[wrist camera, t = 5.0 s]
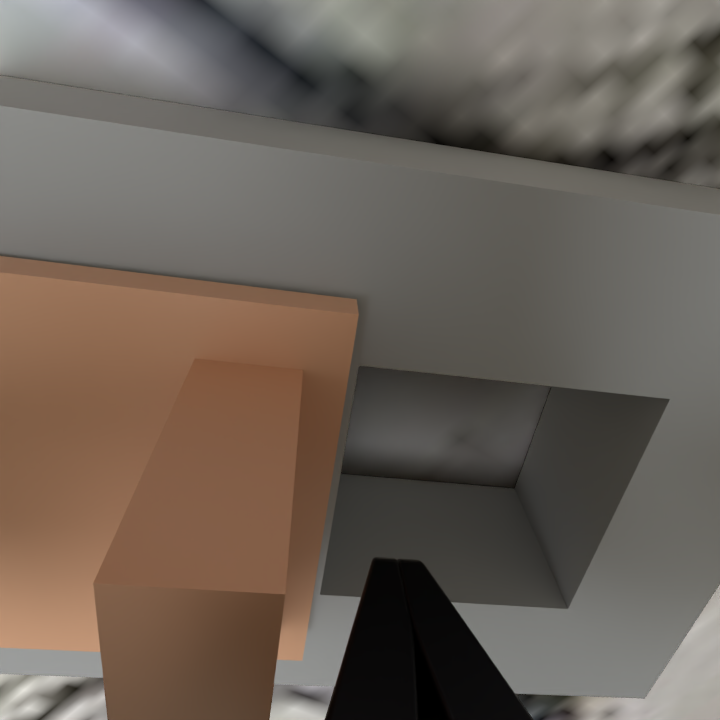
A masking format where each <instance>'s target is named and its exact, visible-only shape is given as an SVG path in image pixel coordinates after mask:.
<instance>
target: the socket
mask: <svg viewBox="0 0 720 720" xmlns="http://www.w3.org/2000/svg"><path fill="white" fill-rule="evenodd" d="M0 256H6V257H14V258H22V259H30V260H38V261H47V262H55V263H63V264H71V265H80V266H88V267H96V268H104V269H112V270H121V271H129V272H137V273H145V274H153V275H162V276H170V277H178V278H186V279H194V280H203V281H211V282H219V283H227V284H235V285H244V286H252V287H260V288H268V289H276V290H285V291H293V292H301V293H309V294H317V295H326V296H334V297H342V298H350V299H357V305H358V313H359V316H358V322H357V329H356V335H355V341H354V347H353V353H352V359H351V365H350V372H349V378H348V384H347V390H346V396H345V402H344V408H343V415H342V421H341V427H340V433H339V439H338V445H337V451H336V458H335V464H334V470H333V476H332V482H331V488H330V494H329V501H328V507H327V513H326V519H325V525H324V531H323V537H322V543H321V550H320V556H319V562H318V568H317V574H316V580H315V586H314V593H313V599H312V605H311V611H310V617H309V623H308V629H307V636H306V642H305V648H304V654H303V660H302V661H294V660H277V664H276V671H275V679H274V684H280V685H306V686H332V687H335V684H336V680H337V677H338V673H339V670H340V667H341V663H342V660H343V656H344V653H345V650H346V646H347V643H348V639H349V636H350V633H351V629H352V626H353V622H354V619H355V616H356V612H357V609H358V605H359V602H360V599H361V595H362V592H363V588H364V585H365V582H366V578H367V575H368V571H369V568H370V565H371V561H372V559H373V558H374V557H387V558H395V559H400V558H402V559H416V560H420V561H422V562H423V563H424V564H425V566H426V567H427V569H428V570H429V571H430V573H431V574H432V576H433V577H434V578H435V580H436V581H437V583H438V584H439V586H440V587H441V588H442V590H443V591H444V593H445V594H446V596H447V597H448V598H449V600H450V601H451V603H452V604H453V606H454V607H455V608H456V610H457V611H458V613H459V614H460V616H461V617H462V618H463V620H464V621H465V623H466V624H467V626H468V627H469V628H470V630H471V631H472V633H473V634H474V636H475V637H476V638H477V640H478V641H479V643H480V644H481V646H482V647H483V648H484V650H485V651H486V653H487V654H488V656H489V657H490V658H491V660H492V661H493V663H494V664H495V666H496V667H497V668H498V670H499V671H500V673H501V674H502V676H503V677H504V678H505V680H506V681H507V683H508V684H509V686H510V687H511V688H512V690H513V691H514V693H515V694H541V695H567V696H594V697H620V698H645V697H646V696H647V694H648V693H649V691H650V690H651V688H652V687H653V685H654V684H655V682H656V681H657V679H658V677H659V676H660V674H661V673H662V671H663V670H664V668H665V667H666V665H667V664H668V662H669V661H670V659H671V658H672V656H673V655H674V653H675V652H676V650H677V649H678V647H679V645H680V644H681V642H682V641H683V639H684V638H685V636H686V635H687V633H688V632H689V630H690V629H691V627H692V626H693V624H694V623H695V621H696V620H697V618H698V617H699V615H700V613H701V612H702V610H703V609H704V607H705V606H706V604H707V603H708V601H709V600H710V598H711V597H712V595H713V594H714V592H715V591H716V589H717V588H718V586H719V585H720V189H717V188H711V187H705V186H698V185H692V184H686V183H680V182H673V181H667V180H661V179H654V178H648V177H642V176H635V175H629V174H623V173H616V172H610V171H604V170H597V169H591V168H585V167H578V166H572V165H566V164H559V163H553V162H547V161H540V160H534V159H528V158H521V157H515V156H509V155H502V154H496V153H490V152H483V151H477V150H471V149H464V148H458V147H452V146H445V145H439V144H433V143H426V142H420V141H414V140H407V139H401V138H395V137H388V136H382V135H376V134H369V133H363V132H357V131H350V130H344V129H338V128H332V127H325V126H319V125H313V124H306V123H300V122H294V121H287V120H281V119H275V118H268V117H262V116H256V115H249V114H243V113H237V112H230V111H224V110H218V109H211V108H205V107H199V106H192V105H186V104H180V103H173V102H167V101H161V100H154V99H148V98H142V97H135V96H129V95H123V94H116V93H110V92H104V91H97V90H91V89H85V88H78V87H72V86H66V85H59V84H53V83H47V82H40V81H34V80H28V79H21V78H15V77H9V76H3V75H0ZM359 366H367V367H376V368H385V369H395V370H404V371H413V372H423V373H432V374H441V375H450V376H460V377H469V378H478V379H488V380H497V381H506V382H515V383H525V384H534V385H543V386H552V387H551V390H550V392H549V395H548V398H547V401H546V403H545V406H544V409H543V412H542V414H541V417H540V420H539V423H538V425H537V428H536V431H535V434H534V436H533V439H532V442H531V445H530V447H529V450H528V453H527V456H526V458H525V461H524V464H523V467H522V469H521V472H520V475H519V478H518V480H517V483H516V486H515V489H514V488H503V487H491V486H479V485H467V484H455V483H443V482H431V481H419V480H407V479H395V478H384V477H372V476H360V475H348V474H341V468H342V462H343V457H344V451H345V445H346V439H347V433H348V427H349V421H350V416H351V410H352V404H353V398H354V392H355V386H356V381H357V375H358V369H359ZM0 674H19V675H45V676H71V677H98V678H103V671H102V662H101V652H87V651H64V650H41V649H18V648H0Z"/></svg>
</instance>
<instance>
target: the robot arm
mask: <svg viewBox="0 0 720 720" xmlns="http://www.w3.org/2000/svg"><path fill="white" fill-rule="evenodd" d="M325 720H533V718H532V717H531V716H530V714H529V713H528V711H527V710H526V708H525V707H524V706H523V704H522V703H521V701H520V700H519V698H518V697H517V696H516V694H515V693H514V691H513V690H512V688H511V687H510V686H509V684H508V683H507V681H506V680H505V678H504V677H503V676H502V674H501V673H500V671H499V670H498V668H497V667H496V666H495V664H494V663H493V661H492V660H491V658H490V657H489V656H488V654H487V653H486V651H485V650H484V648H483V647H482V646H481V644H480V643H479V641H478V640H477V638H476V637H475V636H474V634H473V633H472V631H471V630H470V628H469V627H468V626H467V624H466V623H465V621H464V620H463V618H462V617H461V616H460V614H459V613H458V611H457V610H456V608H455V607H454V606H453V604H452V603H451V601H450V600H449V598H448V597H447V596H446V594H445V593H444V591H443V590H442V588H441V587H440V586H439V584H438V583H437V581H436V580H435V578H434V577H433V576H432V574H431V573H430V571H429V570H428V569H427V567H426V566H425V564H424V563H423V562H422V561H420V560H416V559H402V558H400V559H395V558H387V557H374V558H373V559H372V561H371V565H370V568H369V571H368V575H367V578H366V582H365V585H364V588H363V592H362V595H361V599H360V602H359V605H358V609H357V612H356V616H355V619H354V622H353V626H352V629H351V633H350V636H349V639H348V643H347V646H346V650H345V653H344V656H343V660H342V663H341V667H340V670H339V673H338V677H337V680H336V684H335V687H334V690H333V694H332V697H331V701H330V704H329V707H328V711H327V714H326V718H325Z"/></svg>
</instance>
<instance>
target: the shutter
mask: <svg viewBox="0 0 720 720" xmlns="http://www.w3.org/2000/svg"><path fill="white" fill-rule="evenodd" d="M358 316H359V313H358V305H357V299H350V298H342V297H334V296H326V295H317V294H309V293H301V292H293V291H285V290H276V289H268V288H260V287H252V286H244V285H235V284H227V283H219V282H211V281H203V280H194V279H186V278H178V277H170V276H162V275H153V274H145V273H137V272H129V271H121V270H112V269H104V268H96V267H88V266H80V265H71V264H63V263H55V262H47V261H38V260H30V259H22V258H14V257H6V256H0V648H18V649H41V650H64V651H87V652H101V662H102V671H103V680H104V690H105V699H106V708H107V718H108V720H269V718H270V710H271V703H272V695H273V687H274V679H275V671H276V664H277V660H294V661H302V660H303V654H304V648H305V642H306V636H307V629H308V623H309V617H310V611H311V605H312V599H313V593H314V586H315V580H316V574H317V568H318V562H319V556H320V550H321V543H322V537H323V531H324V525H325V519H326V513H327V507H328V501H329V494H330V488H331V482H332V476H333V470H334V464H335V458H336V451H337V445H338V439H339V433H340V427H341V421H342V415H343V408H344V402H345V396H346V390H347V384H348V378H349V372H350V365H351V359H352V353H353V347H354V341H355V335H356V329H357V322H358Z"/></svg>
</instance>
